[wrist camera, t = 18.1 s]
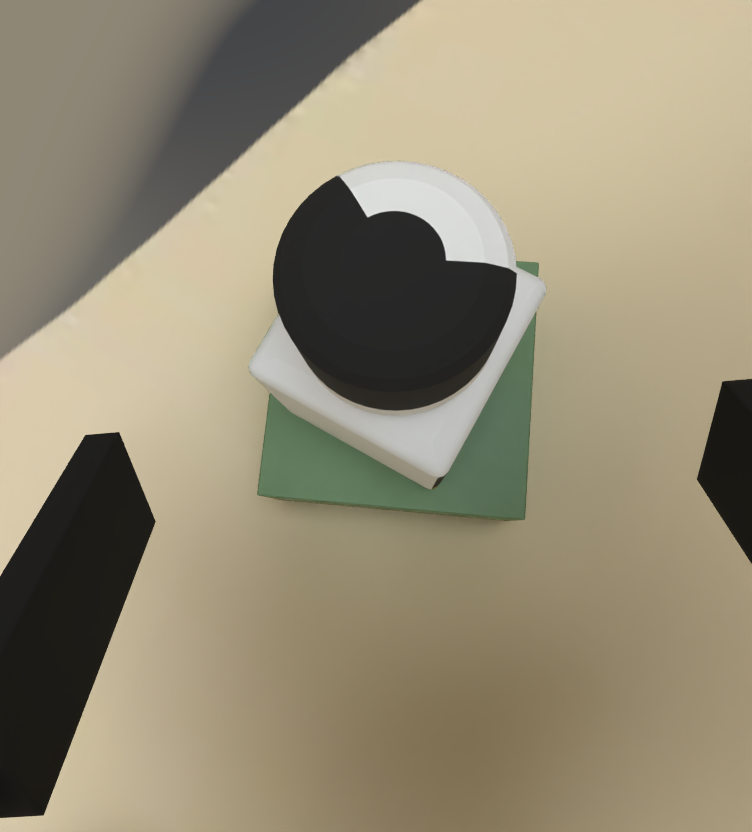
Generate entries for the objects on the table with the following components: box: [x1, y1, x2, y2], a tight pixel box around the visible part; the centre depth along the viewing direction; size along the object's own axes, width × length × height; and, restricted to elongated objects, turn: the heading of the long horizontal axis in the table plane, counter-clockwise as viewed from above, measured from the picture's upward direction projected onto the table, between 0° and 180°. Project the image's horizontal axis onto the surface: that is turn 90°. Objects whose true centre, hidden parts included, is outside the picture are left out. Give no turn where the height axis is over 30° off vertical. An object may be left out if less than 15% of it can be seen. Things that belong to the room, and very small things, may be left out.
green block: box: [257, 261, 539, 521], centre depth 29 cm, size 11×11×5 cm
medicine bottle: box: [248, 161, 546, 489], centre depth 21 cm, size 7×7×12 cm
